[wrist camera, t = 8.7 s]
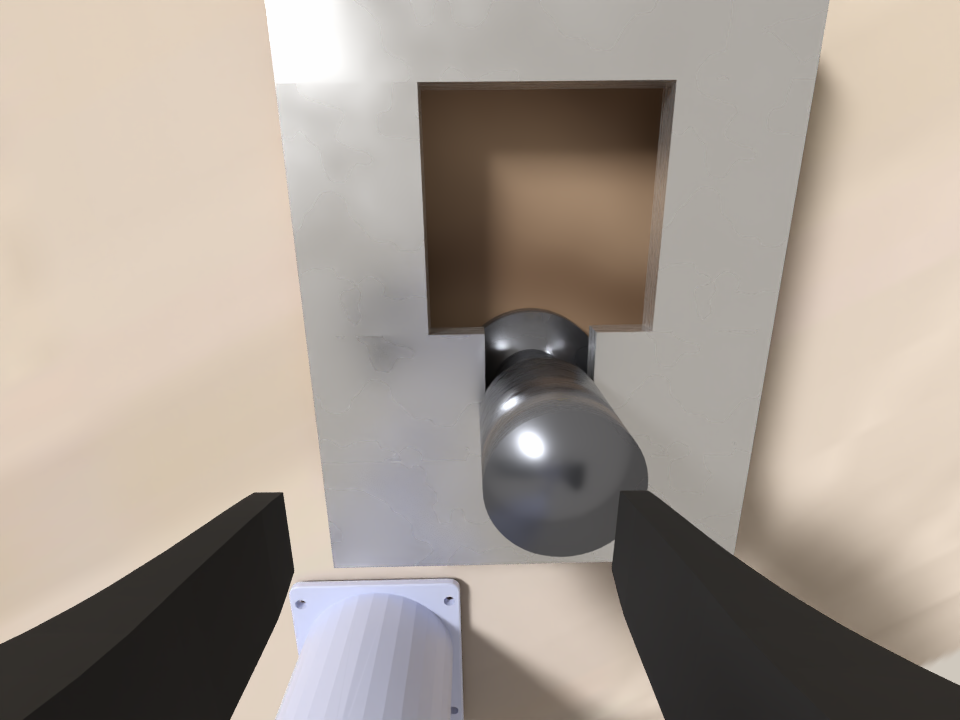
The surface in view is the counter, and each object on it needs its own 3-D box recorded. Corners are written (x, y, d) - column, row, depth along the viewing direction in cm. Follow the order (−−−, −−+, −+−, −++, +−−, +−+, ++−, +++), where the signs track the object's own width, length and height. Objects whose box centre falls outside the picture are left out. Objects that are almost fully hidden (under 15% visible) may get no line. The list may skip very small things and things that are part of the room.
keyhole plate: (696, 510, 21) (733, 559, 18) (353, 517, 21) (334, 567, 18) (770, -18, 16) (841, -70, 13) (297, -15, 15) (256, -67, 12)
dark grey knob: (593, 440, 20) (667, 581, 13) (458, 441, 20) (451, 584, 13) (603, 307, 19) (695, 377, 11) (456, 308, 19) (446, 379, 11)
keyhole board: (706, 515, 23) (716, 529, 22) (338, 523, 22) (332, 537, 21) (788, -41, 16) (808, -56, 15) (273, -38, 16) (261, -53, 15)
